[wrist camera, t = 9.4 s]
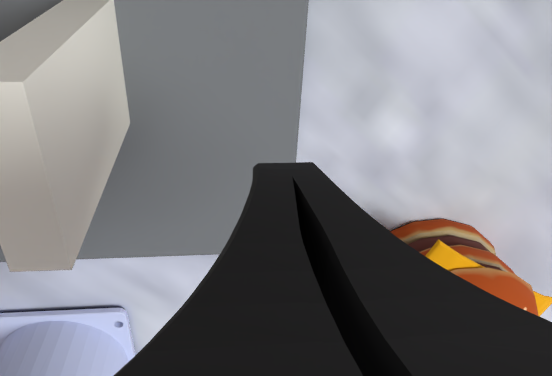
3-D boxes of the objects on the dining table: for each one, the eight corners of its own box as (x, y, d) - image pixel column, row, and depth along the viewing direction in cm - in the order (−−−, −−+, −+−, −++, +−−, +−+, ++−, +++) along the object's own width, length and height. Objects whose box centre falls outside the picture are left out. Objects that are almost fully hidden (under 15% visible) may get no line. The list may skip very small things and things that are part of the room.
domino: (113, -4, 16) (22, 82, 9) (130, 122, 19) (71, 269, 12) (70, -5, 16) (-60, 80, 9) (93, 122, 19) (10, 271, 11)
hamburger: (427, 342, 31) (472, 440, 25) (310, 302, 27) (332, 405, 22) (529, 247, 27) (610, 339, 21) (407, 186, 23) (464, 277, 18)
